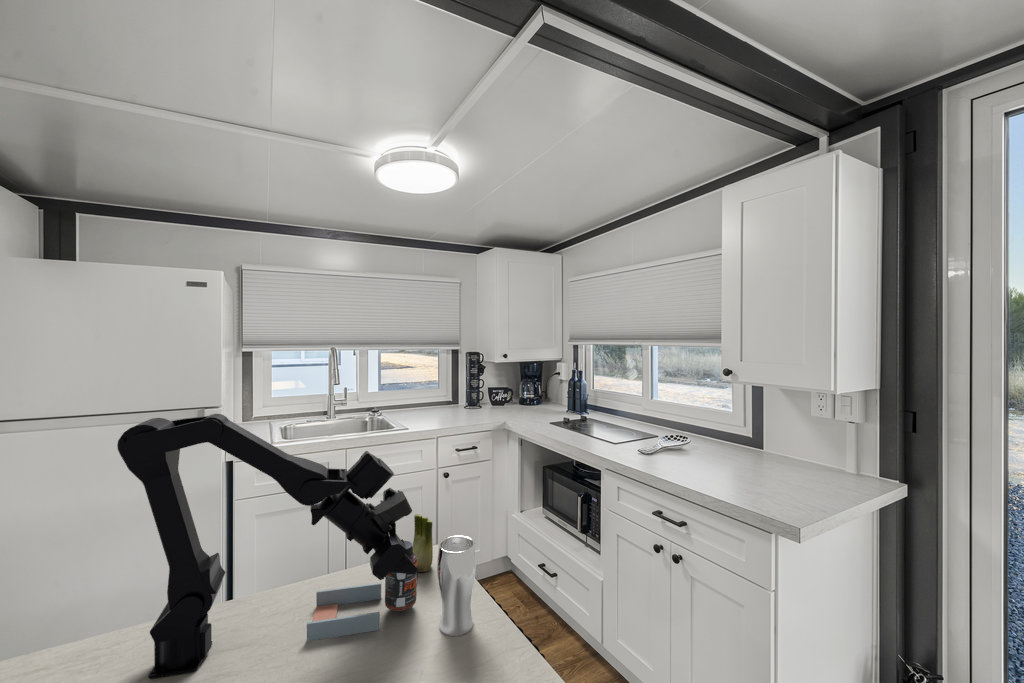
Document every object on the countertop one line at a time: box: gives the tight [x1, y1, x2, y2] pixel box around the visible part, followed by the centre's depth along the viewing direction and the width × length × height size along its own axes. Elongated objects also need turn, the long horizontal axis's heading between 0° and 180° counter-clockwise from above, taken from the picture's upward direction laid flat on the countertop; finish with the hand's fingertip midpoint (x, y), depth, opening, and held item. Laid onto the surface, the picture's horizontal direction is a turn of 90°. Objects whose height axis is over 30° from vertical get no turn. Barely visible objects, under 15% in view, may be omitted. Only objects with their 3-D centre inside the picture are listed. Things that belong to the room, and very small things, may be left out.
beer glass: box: [436, 535, 477, 637], centre depth 80 cm, size 7×7×15 cm
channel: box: [306, 582, 382, 642], centre depth 82 cm, size 12×10×3 cm
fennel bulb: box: [412, 514, 434, 573], centre depth 99 cm, size 6×5×12 cm
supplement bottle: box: [384, 540, 418, 612], centre depth 84 cm, size 6×6×11 cm
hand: (412, 564), depth 85 cm, fingers closed on supplement bottle, 6 cm apart
